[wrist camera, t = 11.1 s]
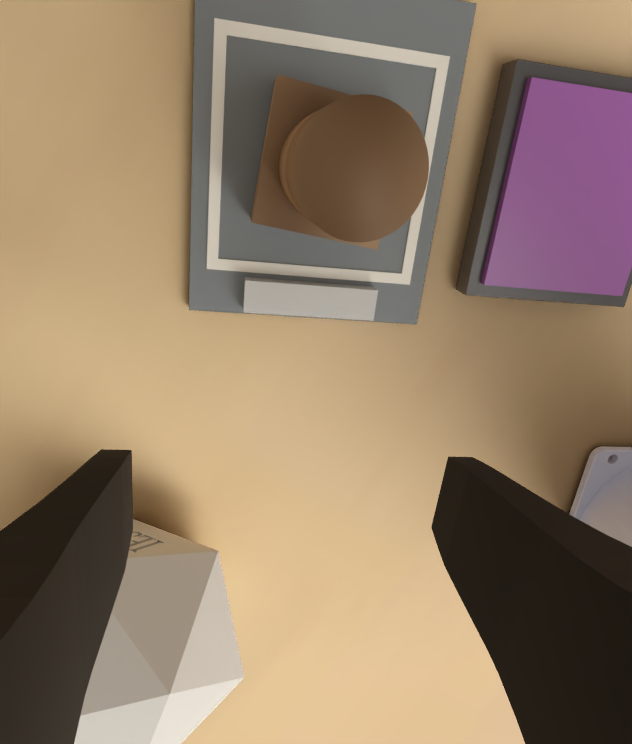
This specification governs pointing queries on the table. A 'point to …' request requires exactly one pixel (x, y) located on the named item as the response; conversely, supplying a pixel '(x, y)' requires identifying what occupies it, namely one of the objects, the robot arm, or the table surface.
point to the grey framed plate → (246, 135)
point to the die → (162, 646)
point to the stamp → (338, 164)
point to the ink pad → (554, 190)
